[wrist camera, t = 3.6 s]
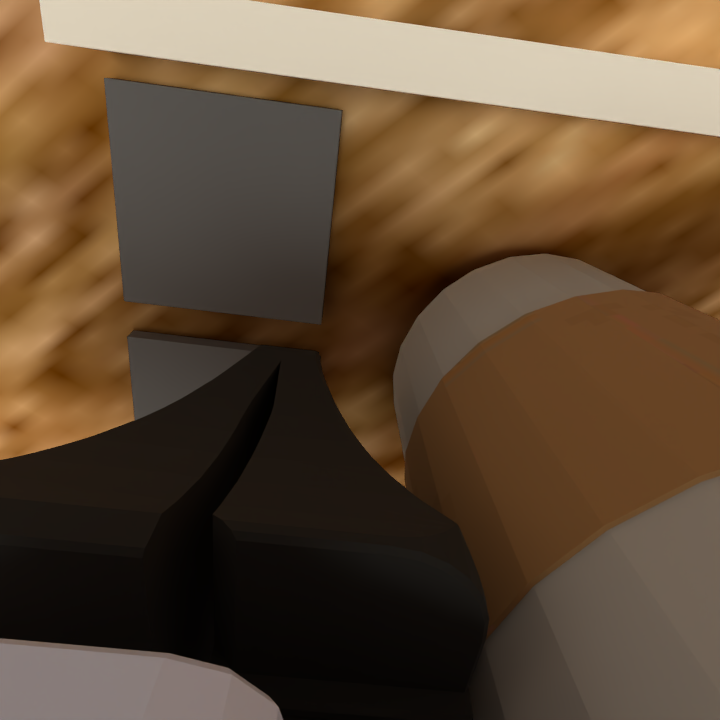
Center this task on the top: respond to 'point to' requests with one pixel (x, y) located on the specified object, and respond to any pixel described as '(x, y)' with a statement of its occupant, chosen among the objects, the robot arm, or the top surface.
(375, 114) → the top surface
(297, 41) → the lane box
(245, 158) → the trap pits
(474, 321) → the coffee cup
